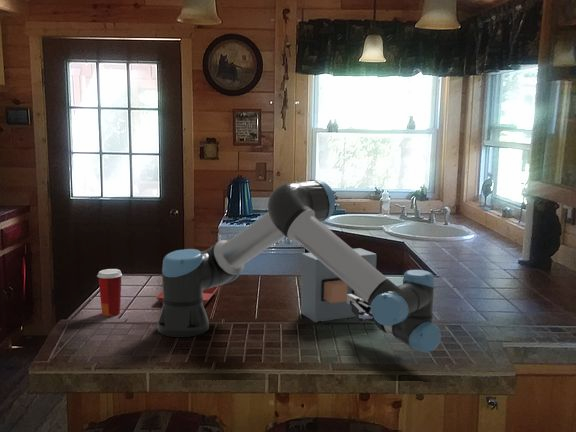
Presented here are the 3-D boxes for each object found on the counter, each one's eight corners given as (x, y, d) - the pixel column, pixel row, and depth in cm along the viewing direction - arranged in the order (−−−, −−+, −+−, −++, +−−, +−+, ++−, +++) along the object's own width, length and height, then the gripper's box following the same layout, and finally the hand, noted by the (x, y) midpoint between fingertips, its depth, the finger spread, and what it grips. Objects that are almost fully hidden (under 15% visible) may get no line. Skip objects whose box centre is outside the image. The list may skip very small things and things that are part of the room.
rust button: (323, 299, 196) (323, 281, 195) (338, 297, 199) (339, 280, 198) (331, 303, 192) (331, 285, 191) (347, 301, 194) (347, 283, 193)
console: (300, 313, 205) (301, 253, 202) (358, 305, 215) (360, 248, 212) (315, 322, 196) (316, 259, 193) (374, 313, 206) (376, 254, 203)
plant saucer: (219, 294, 228) (219, 285, 228) (208, 308, 211) (207, 299, 210) (170, 292, 230) (170, 283, 230) (155, 306, 212) (155, 297, 212)
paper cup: (125, 310, 207) (124, 268, 205) (120, 317, 199) (119, 274, 197) (101, 310, 207) (100, 268, 205) (95, 317, 199) (93, 274, 197)
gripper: (373, 338, 164) (329, 313, 185) (414, 331, 170) (367, 308, 191) (374, 310, 163) (330, 288, 184) (415, 304, 169) (368, 284, 190)
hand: (349, 298), depth 188 cm, fingers closed
